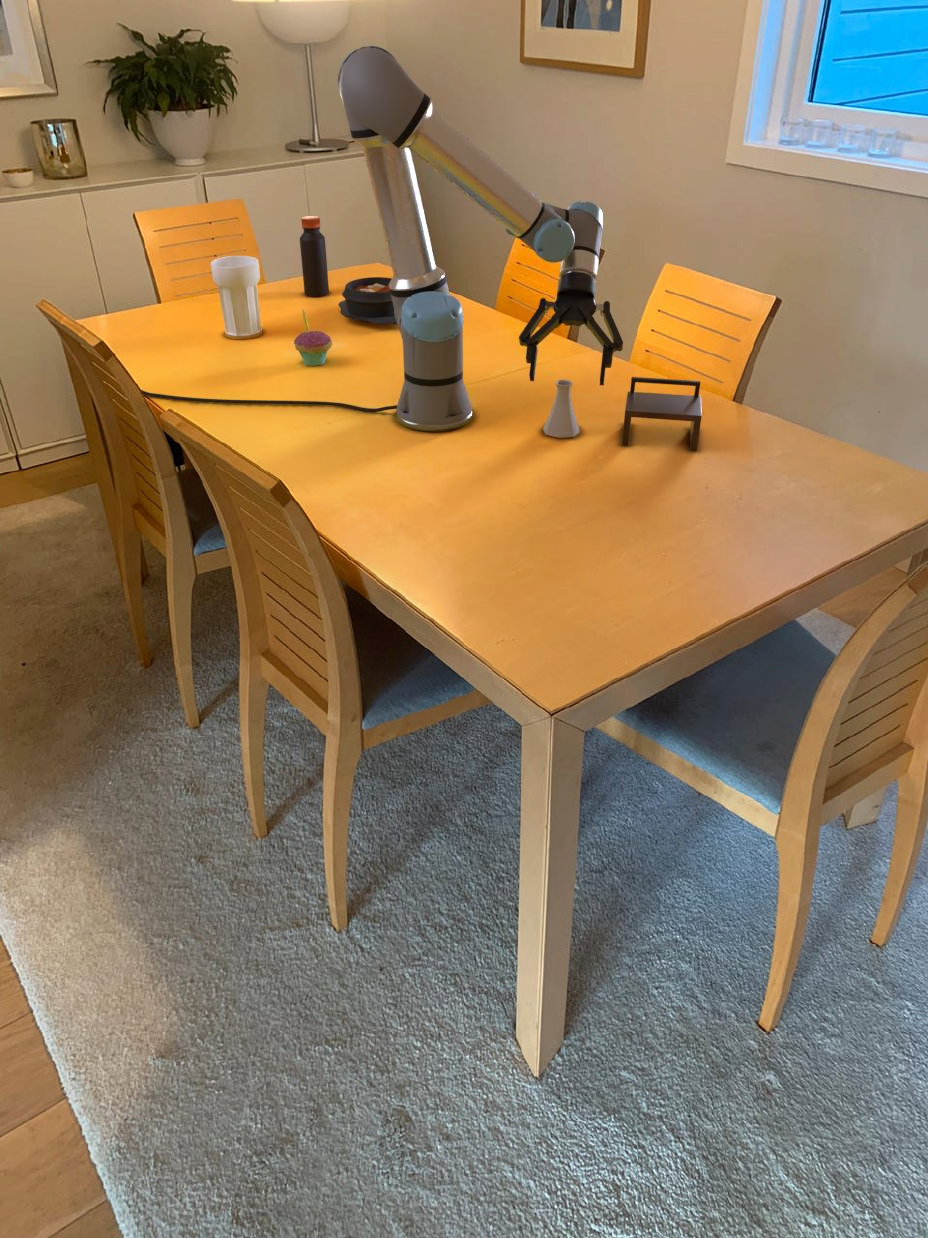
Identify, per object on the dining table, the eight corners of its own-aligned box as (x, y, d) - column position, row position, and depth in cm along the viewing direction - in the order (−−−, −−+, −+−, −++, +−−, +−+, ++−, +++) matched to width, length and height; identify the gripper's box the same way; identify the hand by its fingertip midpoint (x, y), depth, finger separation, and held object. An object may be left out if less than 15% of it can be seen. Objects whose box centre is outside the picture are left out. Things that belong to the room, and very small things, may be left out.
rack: (621, 445, 183) (626, 395, 178) (624, 425, 192) (629, 376, 186) (696, 451, 181) (703, 400, 176) (696, 430, 189) (703, 381, 184)
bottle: (301, 296, 266) (294, 219, 255) (308, 289, 272) (302, 214, 261) (325, 297, 266) (319, 220, 254) (332, 290, 271) (326, 215, 260)
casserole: (432, 323, 247) (431, 289, 242) (369, 336, 238) (367, 301, 233) (383, 299, 264) (381, 268, 259) (322, 311, 255) (319, 278, 250)
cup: (276, 331, 241) (268, 259, 231) (245, 343, 233) (235, 269, 224) (242, 323, 246) (233, 253, 236) (211, 335, 238) (200, 263, 229)
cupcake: (289, 365, 220) (283, 313, 214) (308, 354, 227) (303, 302, 220) (322, 370, 218) (317, 317, 211) (340, 358, 224) (336, 306, 217)
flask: (577, 440, 185) (581, 390, 180) (540, 437, 187) (542, 387, 181) (581, 425, 191) (585, 377, 186) (545, 423, 192) (547, 374, 187)
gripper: (640, 292, 192) (630, 392, 189) (516, 287, 196) (504, 384, 192) (642, 272, 185) (632, 375, 181) (513, 267, 189) (501, 367, 185)
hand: (566, 380), depth 187 cm, fingers open, 13 cm apart
